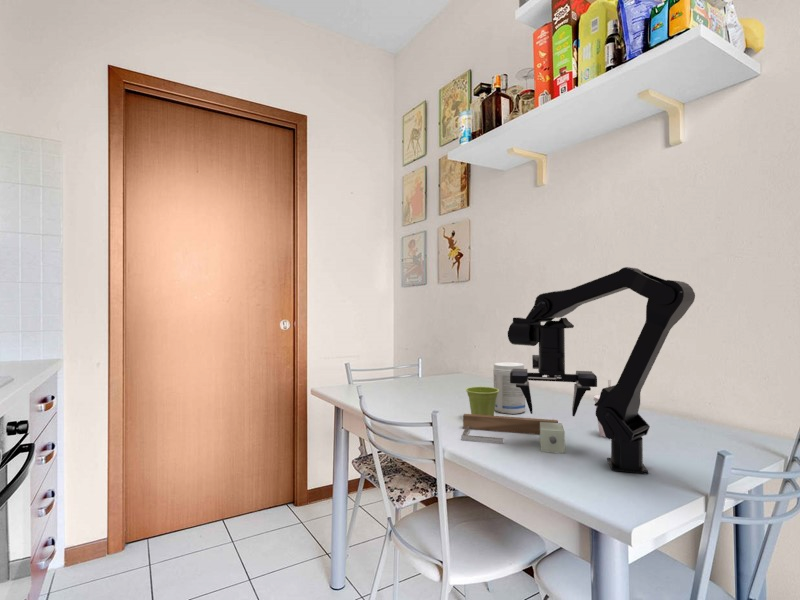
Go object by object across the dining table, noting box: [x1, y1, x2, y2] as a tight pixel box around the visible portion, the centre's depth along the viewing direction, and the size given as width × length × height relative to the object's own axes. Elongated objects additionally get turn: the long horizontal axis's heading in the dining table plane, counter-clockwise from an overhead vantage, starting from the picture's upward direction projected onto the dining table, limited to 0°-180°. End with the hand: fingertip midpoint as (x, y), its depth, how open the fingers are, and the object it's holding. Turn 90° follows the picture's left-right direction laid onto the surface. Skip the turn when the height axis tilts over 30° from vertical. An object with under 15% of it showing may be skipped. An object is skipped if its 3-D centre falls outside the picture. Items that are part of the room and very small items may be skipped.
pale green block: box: [539, 422, 566, 454], centre depth 102 cm, size 8×5×5 cm, turn 165°
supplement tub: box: [492, 361, 526, 415], centre depth 138 cm, size 10×10×15 cm
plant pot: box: [465, 386, 499, 416], centre depth 127 cm, size 9×9×9 cm
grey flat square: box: [460, 426, 504, 444], centre depth 111 cm, size 10×10×1 cm
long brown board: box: [462, 413, 559, 436], centre depth 116 cm, size 2×24×4 cm, turn 74°
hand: (552, 414), depth 102 cm, fingers open, 9 cm apart
